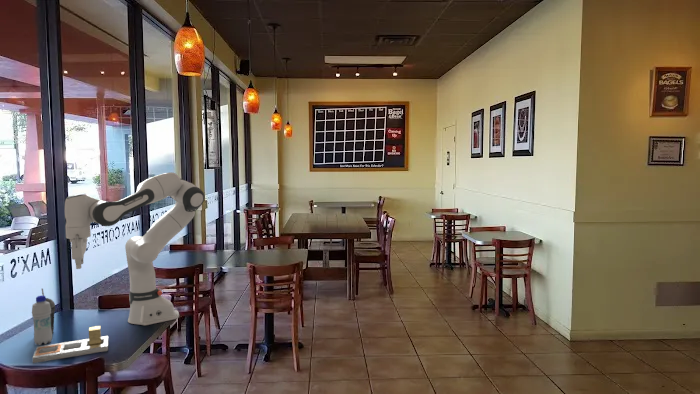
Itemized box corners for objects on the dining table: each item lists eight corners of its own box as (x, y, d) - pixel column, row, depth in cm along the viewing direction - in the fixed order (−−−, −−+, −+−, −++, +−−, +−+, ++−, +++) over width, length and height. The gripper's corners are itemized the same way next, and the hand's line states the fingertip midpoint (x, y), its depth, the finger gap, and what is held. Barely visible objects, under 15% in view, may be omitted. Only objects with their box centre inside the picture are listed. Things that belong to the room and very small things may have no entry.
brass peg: (101, 344, 194) (100, 325, 193) (101, 348, 190) (100, 328, 189) (90, 346, 192) (89, 327, 191) (89, 350, 188) (88, 330, 188)
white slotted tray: (108, 340, 198) (108, 335, 198) (107, 350, 188) (107, 345, 187) (37, 351, 187) (37, 346, 187) (32, 363, 177) (32, 357, 176)
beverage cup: (47, 337, 202) (44, 291, 200) (33, 336, 204) (30, 290, 202) (61, 331, 209) (58, 286, 208) (47, 329, 211) (44, 285, 209)
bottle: (39, 340, 199) (36, 293, 197) (56, 339, 199) (53, 293, 198) (30, 346, 192) (27, 298, 190) (47, 346, 193) (44, 298, 191)
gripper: (84, 236, 187) (86, 270, 188) (88, 229, 205) (90, 260, 206) (66, 237, 184) (68, 272, 185) (72, 230, 202) (73, 262, 204)
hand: (79, 266), depth 196 cm, fingers open, 8 cm apart
